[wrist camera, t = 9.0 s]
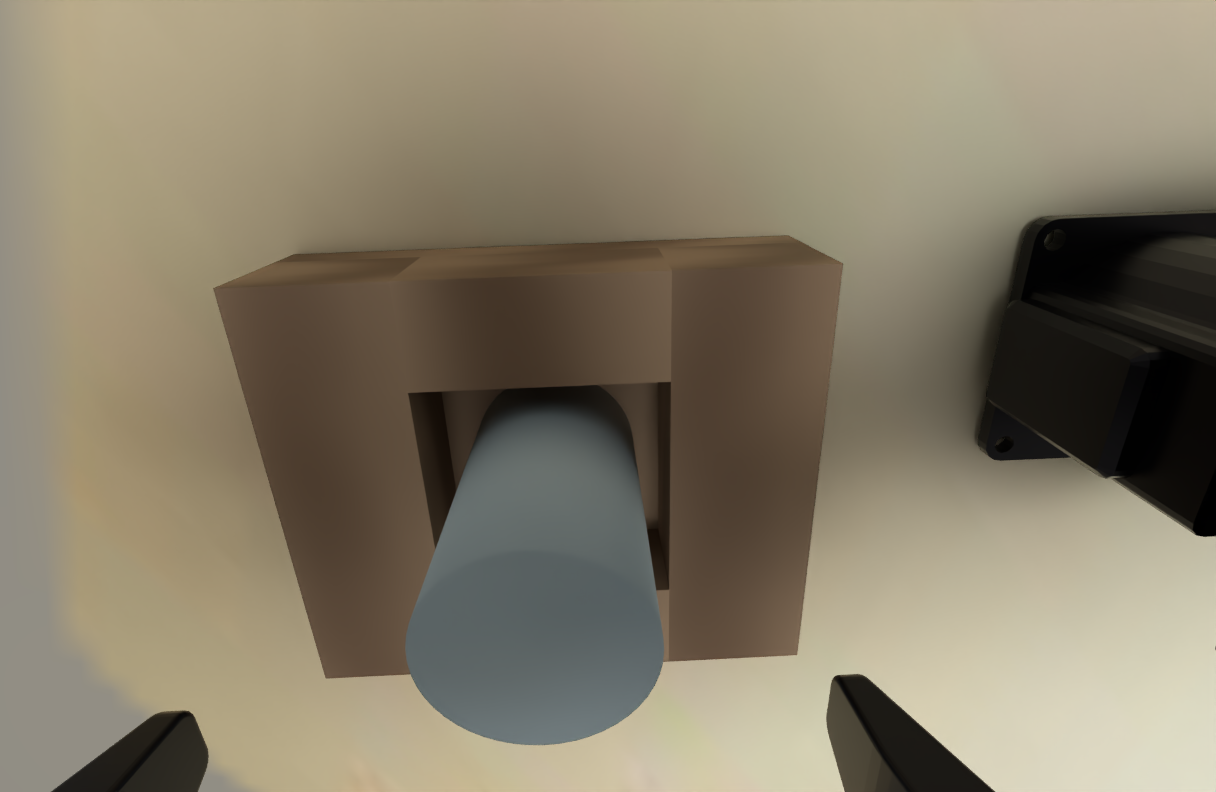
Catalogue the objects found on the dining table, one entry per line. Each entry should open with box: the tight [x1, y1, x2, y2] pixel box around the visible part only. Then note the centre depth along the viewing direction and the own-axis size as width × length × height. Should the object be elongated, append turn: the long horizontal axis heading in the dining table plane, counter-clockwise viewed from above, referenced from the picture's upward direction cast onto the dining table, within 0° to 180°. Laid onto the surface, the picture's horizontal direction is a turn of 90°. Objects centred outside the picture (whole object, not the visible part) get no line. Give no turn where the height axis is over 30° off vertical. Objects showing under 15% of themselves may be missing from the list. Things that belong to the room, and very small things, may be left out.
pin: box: [405, 385, 664, 745], centre depth 13 cm, size 4×4×7 cm
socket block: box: [213, 236, 843, 678], centre depth 15 cm, size 12×10×4 cm
